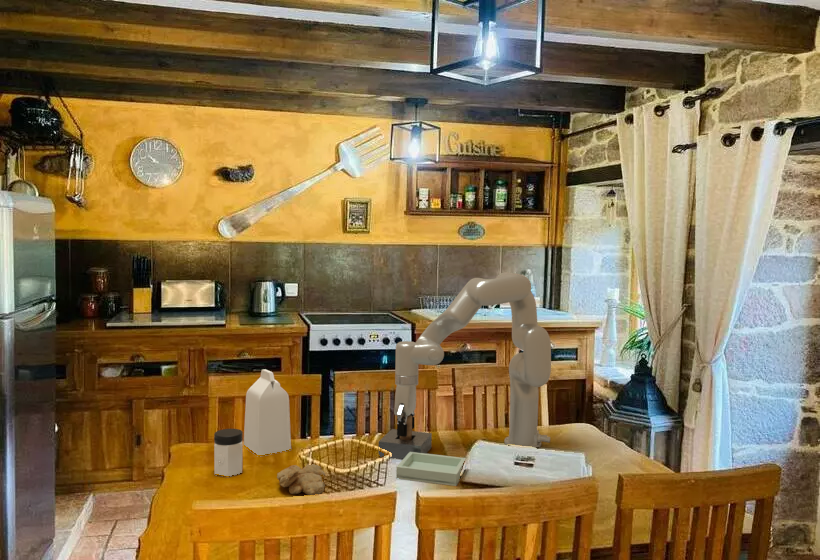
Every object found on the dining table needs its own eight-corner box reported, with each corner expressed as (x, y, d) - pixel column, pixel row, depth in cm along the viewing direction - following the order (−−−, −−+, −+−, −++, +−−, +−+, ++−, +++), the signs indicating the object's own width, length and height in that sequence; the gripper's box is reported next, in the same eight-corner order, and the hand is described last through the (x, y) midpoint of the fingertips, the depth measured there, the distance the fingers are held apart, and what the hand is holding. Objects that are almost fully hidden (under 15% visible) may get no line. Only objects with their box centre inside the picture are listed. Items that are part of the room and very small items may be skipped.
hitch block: (431, 447, 221) (431, 433, 221) (420, 461, 208) (420, 446, 207) (391, 443, 225) (391, 429, 225) (378, 456, 212) (378, 441, 211)
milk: (243, 446, 219) (243, 369, 217) (275, 440, 226) (275, 365, 224) (258, 456, 210) (258, 376, 208) (291, 450, 216) (291, 372, 214)
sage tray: (465, 469, 202) (466, 458, 201) (456, 486, 188) (456, 474, 188) (409, 462, 207) (409, 451, 206) (396, 478, 193) (396, 466, 193)
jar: (207, 474, 194) (207, 434, 193) (223, 465, 201) (223, 427, 200) (234, 478, 191) (234, 438, 190) (249, 469, 199) (249, 430, 198)
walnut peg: (412, 450, 218) (413, 415, 217) (409, 454, 214) (410, 418, 213) (401, 449, 219) (402, 414, 218) (397, 453, 215) (398, 417, 214)
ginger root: (281, 472, 193) (288, 447, 192) (332, 488, 191) (339, 463, 190) (261, 494, 178) (267, 467, 177) (316, 513, 176) (323, 485, 175)
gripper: (403, 373, 224) (402, 423, 225) (387, 384, 207) (386, 438, 208) (424, 375, 222) (423, 425, 223) (410, 386, 205) (409, 441, 206)
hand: (405, 431), depth 216 cm, fingers open, 8 cm apart
